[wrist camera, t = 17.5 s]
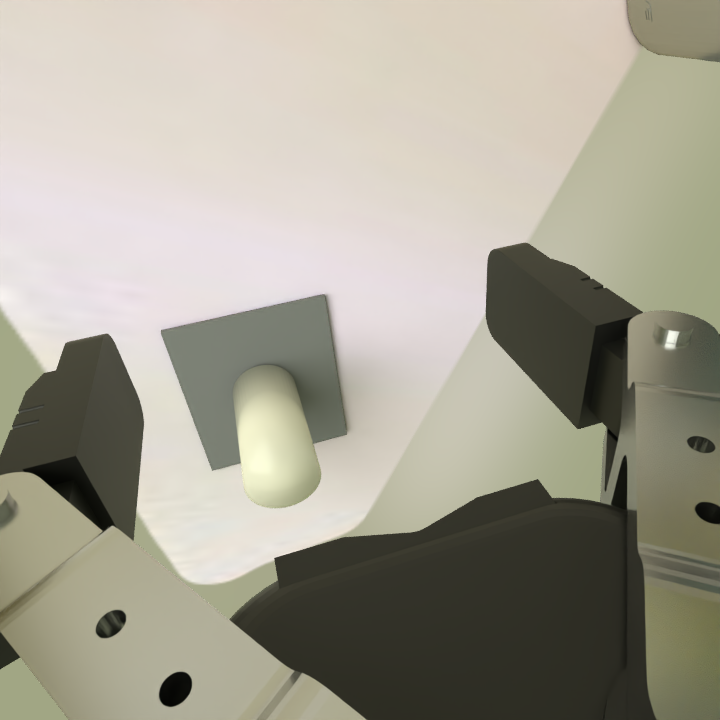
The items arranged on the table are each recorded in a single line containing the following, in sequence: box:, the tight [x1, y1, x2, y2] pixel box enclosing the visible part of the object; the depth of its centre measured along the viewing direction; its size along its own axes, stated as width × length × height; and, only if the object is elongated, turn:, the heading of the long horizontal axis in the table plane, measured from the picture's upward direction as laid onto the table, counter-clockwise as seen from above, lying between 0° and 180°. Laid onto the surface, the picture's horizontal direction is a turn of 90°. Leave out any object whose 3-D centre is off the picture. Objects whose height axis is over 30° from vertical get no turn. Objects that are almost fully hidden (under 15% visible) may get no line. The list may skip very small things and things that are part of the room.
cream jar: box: [233, 365, 321, 508], centre depth 39 cm, size 5×5×10 cm
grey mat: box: [161, 294, 347, 471], centre depth 43 cm, size 12×14×1 cm
